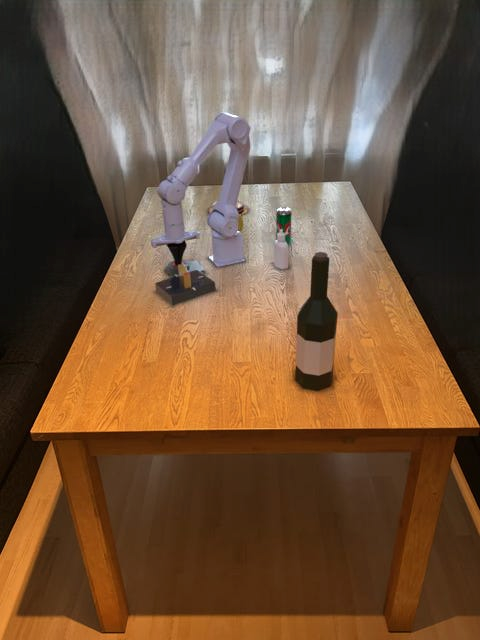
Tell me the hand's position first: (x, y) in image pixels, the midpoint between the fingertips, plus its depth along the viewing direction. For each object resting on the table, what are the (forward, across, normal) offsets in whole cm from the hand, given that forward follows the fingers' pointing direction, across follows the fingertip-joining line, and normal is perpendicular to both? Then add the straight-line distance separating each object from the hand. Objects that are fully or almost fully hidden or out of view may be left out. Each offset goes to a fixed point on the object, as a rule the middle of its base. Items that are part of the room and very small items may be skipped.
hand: (178, 264), depth 161 cm
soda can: (+3, +39, +5) cm, 39 cm away
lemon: (+3, +28, +20) cm, 35 cm away
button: (+2, 0, 0) cm, 2 cm away
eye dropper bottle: (+3, +30, -10) cm, 32 cm away
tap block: (+3, -2, -12) cm, 13 cm away
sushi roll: (+3, +35, +43) cm, 56 cm away
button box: (+3, +2, 0) cm, 4 cm away
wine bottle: (+3, +10, -63) cm, 64 cm away
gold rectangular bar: (0, -2, -12) cm, 12 cm away
